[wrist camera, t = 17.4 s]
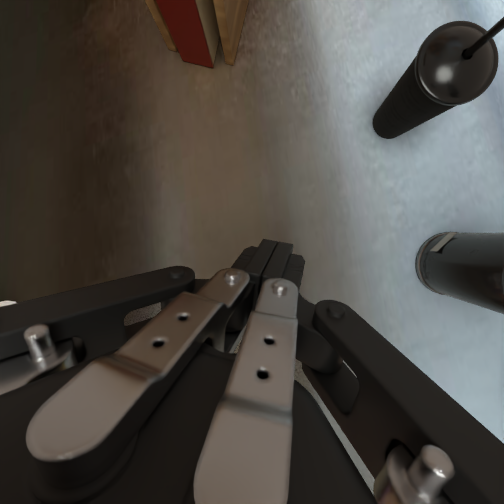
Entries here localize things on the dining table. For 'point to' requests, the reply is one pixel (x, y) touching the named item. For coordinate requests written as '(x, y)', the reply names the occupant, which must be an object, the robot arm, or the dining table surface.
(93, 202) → the dining table surface
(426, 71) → the drinking cup
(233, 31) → the wooden frame
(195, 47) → the hardcover
